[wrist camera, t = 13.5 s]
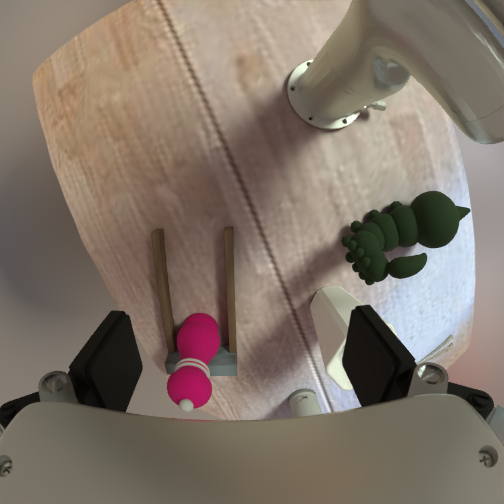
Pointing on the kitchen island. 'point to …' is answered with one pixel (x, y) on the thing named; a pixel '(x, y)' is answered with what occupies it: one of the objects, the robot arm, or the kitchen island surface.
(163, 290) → the guide channel
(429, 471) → the robot arm
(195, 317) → the pepper mill
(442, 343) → the tweezers
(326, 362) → the cup
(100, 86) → the kitchen island surface
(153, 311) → the kitchen island surface
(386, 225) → the toy figurine
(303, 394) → the travel mug
